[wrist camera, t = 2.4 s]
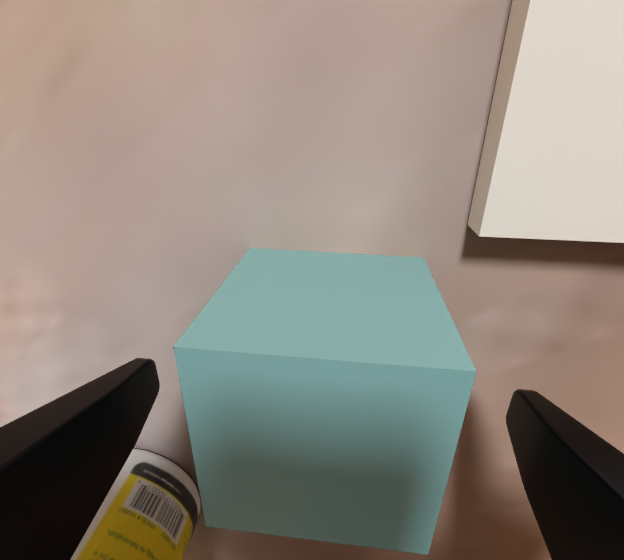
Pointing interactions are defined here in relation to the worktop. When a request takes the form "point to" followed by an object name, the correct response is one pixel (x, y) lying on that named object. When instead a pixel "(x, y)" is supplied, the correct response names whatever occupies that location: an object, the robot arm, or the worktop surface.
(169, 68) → the worktop surface
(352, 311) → the teal cube
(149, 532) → the supplement bottle
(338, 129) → the worktop surface
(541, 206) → the coaster
